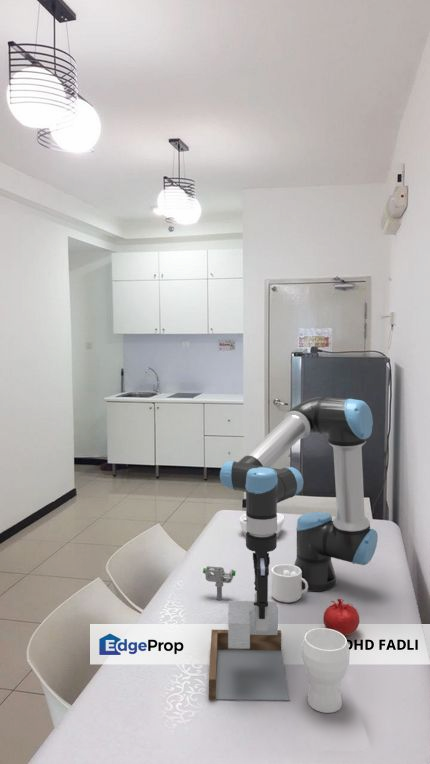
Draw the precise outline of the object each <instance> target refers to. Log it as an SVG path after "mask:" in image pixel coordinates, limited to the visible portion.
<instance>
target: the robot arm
mask: <svg viewBox="0 0 430 764" xmlns="http://www.w3.org/2000/svg"><path fill="white" fill-rule="evenodd" d="M373 420H374V419H373V414H372V410H371V408H370V406H369V405H368V404H367V403H366V402H365V401H364V400H361V399H354V398H345V397H344V398H341V397H340V398H339V397H325V396H316V397H313V398H312V397H311V398H309V399H307V400H304V401H302V402H299V404H296V405H295V406H293V407H292V408H291V409H289V410H288V411H287V412H286V413H285V414H284V415H283V418H282V421H281V422H280V423H279V424H277V426H275V428H273V429H272V430H271V431H270V432H269V433H268V434H267V435H265V437H264V438H262V440H260V442H258V443H257V444H256V445H255V446H253V448H252V449H250V451H249V452H247V453H246V454H244V456H243V457H242V458H241V459H240V460H239V461H236V460H231V461H230V460H229V461H226V462H225V463H223V465H222V466H221V468H220V471H219V480H220V483H221V485H222V486H223V487H224V488H227V489H230V490H233V491H237V492H242V493H243V492H244V493H245V498H246V500H245V503H246V505H245V506H246V507H245V508H246V511H245V513H246V518H245V519H244V522H247V523H246V530H247V533H246V537H245V547H246V548H247V550H249V551H250V552H252V561H253V570H254V571H253V572H254V582H253V584H254V586H255V587H254V590H255V592H254V601H257V602H254V606H256V630H261V631H267V607H268V601H269V599H268V598H269V596H268V595H269V594H268V593H269V585H268V584H269V581H268V580H269V575H270V564H271V561H270V560H271V558H270V556H269V555H270V553H269V552H272V551H274V550H276V549H277V543H278V541H277V539H278V537H277V534H276V533H275V532H276V531H277V513H278V503H280V502H281V503H282V502H283V501H286V500H288V499H291V498H293V497H295V496H296V495H298V494H299V493H301V491H302V490H303V488H304V478H303V475H302V473H301V472H300V470H298V469H297V468H295V467H292V466H289V467H282V468H275V467H273V466H275V464H276V463H277V462H278V461H279V460H280V459H281V458H282V457H283V456H284V455H285V454H286V453H287V452H288V451H289V450H290V449H291V448H292V447H294V445H295V444H296V443H298V442H299V441H300V440H301V439H305V438H307V437H308V436H309V435H310V434H319V435H320V434H321V435H326V436H327V443H328V444H329V445H330V446H331V447H332V448H333V449H332V450H333V463H334V465H333V466H334V481H335V501H336V503H335V504H336V516H335V517H334V518H333V517H332V514H330V513H327V512H323V511H322V512H321V511H320V512H319V511H318V512H308V513H305V514H302V515H300V516H299V517H298V518H297V521H296V529H295V531H296V558H295V561H294V564H293V565H295V566H297V567H299V568H300V569H301V570H302V578H303V579H305V580H306V582H307V583H308V590H307V591H312V592H313V591H315V592H322V591H327V590H328V591H329V590H331V589H333V588H334V587H335V586H336V585H337V574H336V571H335V568H334V565H333V562H332V559H337V560H340V561H345V562H348V563H352V564H353V565H355V564H356V565H361V566H365V565H368V564H369V563H371V560H373V559H372V558H374V555H375V552H376V549H377V545H378V538H379V537H378V536H379V535H378V532H377V530H375V529H373V528H371V520H370V519H369V518H368V517H366V516H365V515H366V513H365V496H364V473H363V472H364V471H363V453H362V452H363V451H362V447H363V446H364V445H365V444H366V442H367V439H369V438H370V437H371V435H372V432H373V426H374V421H373ZM305 587H306V586H305V583H304V582H303V581H302V590H304V589H305Z"/></svg>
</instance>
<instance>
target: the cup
mask: <svg viewBox="0 0 430 764" xmlns="http://www.w3.org/2000/svg"><path fill="white" fill-rule="evenodd" d="M345 636H346V635H343V634H341V633H340V632H338V631H335V630H332V629H327V628H326V627H318V628H313V629H312V628H311V629H310V630H309V631H308V630H307V632H306V633H305V634H304V638H303V642H302V645H301V659H302V662H303V666H304V670H305V671H306V673H307V675H308V679H309V680H308V681H309V689H308V693H307V703H308V705H309V706H310V707H311V708H312V709H314V710H315V711H318V712H321V713H325V714H330V713H335V712H338V711H339V710H340V709H341V708H342V706H343V701H342V699H343V698H342V692H341V685H342V684H341V682H342V679H344V677H345V675H346V673H347V670H348V667H349V664H350V649H349V644H348V641H347V638H346V637H345Z"/></svg>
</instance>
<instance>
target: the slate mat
mask: <svg viewBox="0 0 430 764" xmlns="http://www.w3.org/2000/svg"><path fill="white" fill-rule="evenodd" d="M282 651H283V650H282V649H281V650H217V678H216V700H215V701H237V702H238V701H242V702H243V701H246V702H247V701H250V702H251V701H252V702H263V701H264V702H291V701H290V694H289V687H288V682H287V676H286V669H285V662H284V658H283V652H282Z"/></svg>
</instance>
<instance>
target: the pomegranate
mask: <svg viewBox="0 0 430 764" xmlns="http://www.w3.org/2000/svg"><path fill="white" fill-rule="evenodd" d="M336 600H337V602H338V603H337V602H336V601H334V600H331V601H330V602H331V603H333V604H331V605H328V607H326V609H325V611H324V612H323V617H322V619H323V624H324V626H325V628H327V629H332V630H335V631H338V632H340V633H341V634H343V635H344V636H349V635H352V634H354V633H355V632H357V630H358V628H359V626H360V615H359V613H358V610H357V608H355V607H354V606H353V604H351V603H344V601H345V599H343V600H342V599H341V598H337V599H336Z"/></svg>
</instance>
